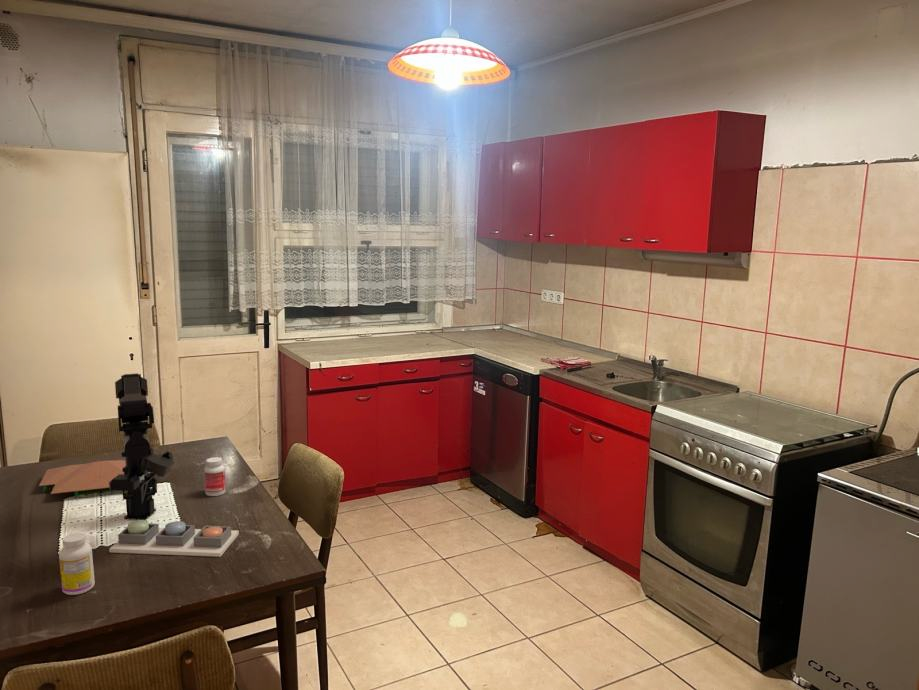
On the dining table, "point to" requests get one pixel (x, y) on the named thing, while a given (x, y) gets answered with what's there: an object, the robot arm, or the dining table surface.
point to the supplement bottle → (76, 564)
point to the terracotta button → (212, 532)
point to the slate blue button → (175, 528)
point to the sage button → (138, 527)
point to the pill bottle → (214, 477)
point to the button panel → (174, 542)
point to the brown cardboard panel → (82, 476)
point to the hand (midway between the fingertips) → (140, 503)
